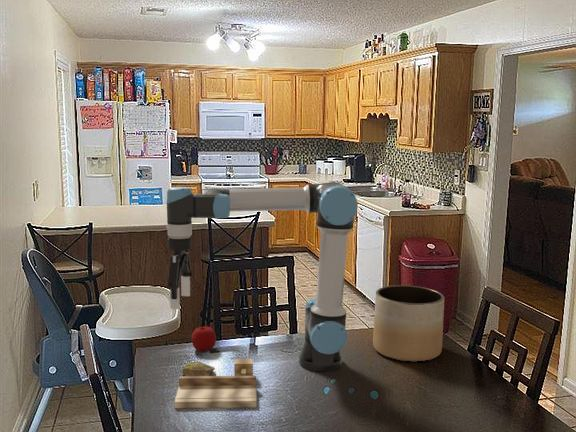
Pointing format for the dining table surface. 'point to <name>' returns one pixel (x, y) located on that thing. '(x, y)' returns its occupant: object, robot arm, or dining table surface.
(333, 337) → the robot arm
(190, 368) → the rock
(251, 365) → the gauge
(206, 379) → the board
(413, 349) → the planter
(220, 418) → the dining table surface
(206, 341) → the apple
